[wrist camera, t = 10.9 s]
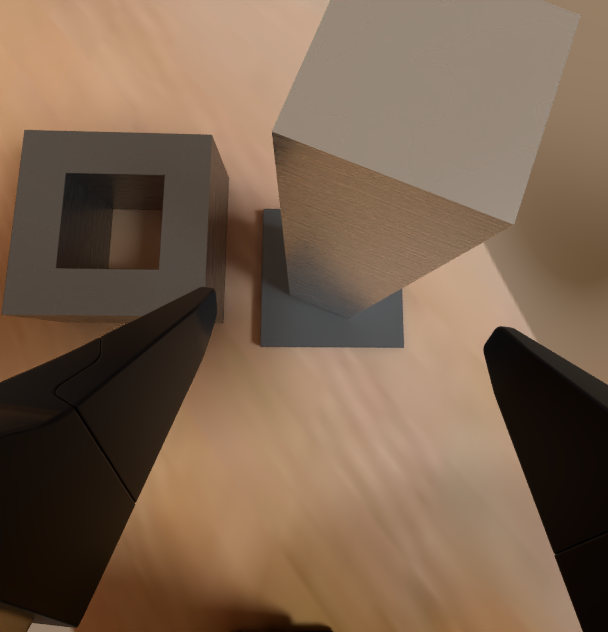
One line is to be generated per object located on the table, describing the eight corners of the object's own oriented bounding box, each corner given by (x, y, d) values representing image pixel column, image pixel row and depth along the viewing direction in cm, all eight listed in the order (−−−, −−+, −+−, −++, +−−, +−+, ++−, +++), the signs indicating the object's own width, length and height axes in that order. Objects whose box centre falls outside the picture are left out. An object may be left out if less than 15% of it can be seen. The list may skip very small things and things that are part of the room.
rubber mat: (400, 347, 19) (403, 347, 18) (261, 346, 19) (260, 346, 18) (396, 215, 20) (399, 211, 19) (264, 213, 20) (263, 208, 19)
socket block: (223, 323, 19) (203, 316, 15) (65, 322, 18) (1, 314, 14) (228, 177, 20) (211, 134, 16) (79, 174, 20) (24, 130, 16)
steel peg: (348, 318, 18) (513, 224, 4) (290, 295, 18) (271, 131, 5) (370, 261, 19) (581, 14, 5) (312, 239, 19) (360, -68, 5)
